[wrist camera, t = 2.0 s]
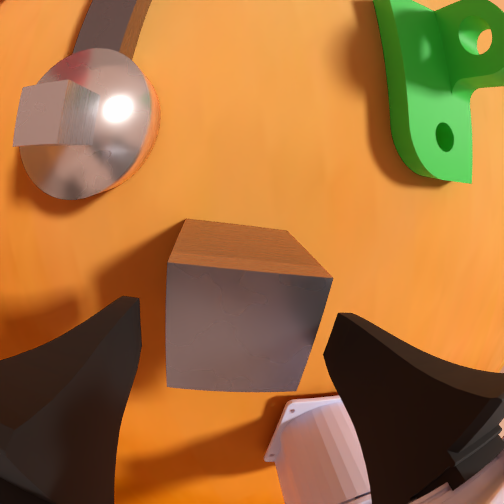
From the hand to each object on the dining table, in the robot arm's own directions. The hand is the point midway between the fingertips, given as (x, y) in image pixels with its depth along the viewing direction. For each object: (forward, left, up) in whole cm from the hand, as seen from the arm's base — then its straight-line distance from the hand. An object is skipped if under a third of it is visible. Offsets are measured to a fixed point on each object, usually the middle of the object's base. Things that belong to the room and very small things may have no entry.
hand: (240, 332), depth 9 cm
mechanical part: (+13, -10, -6) cm, 18 cm away
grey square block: (0, 0, -6) cm, 6 cm away
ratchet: (+7, +8, -6) cm, 12 cm away
